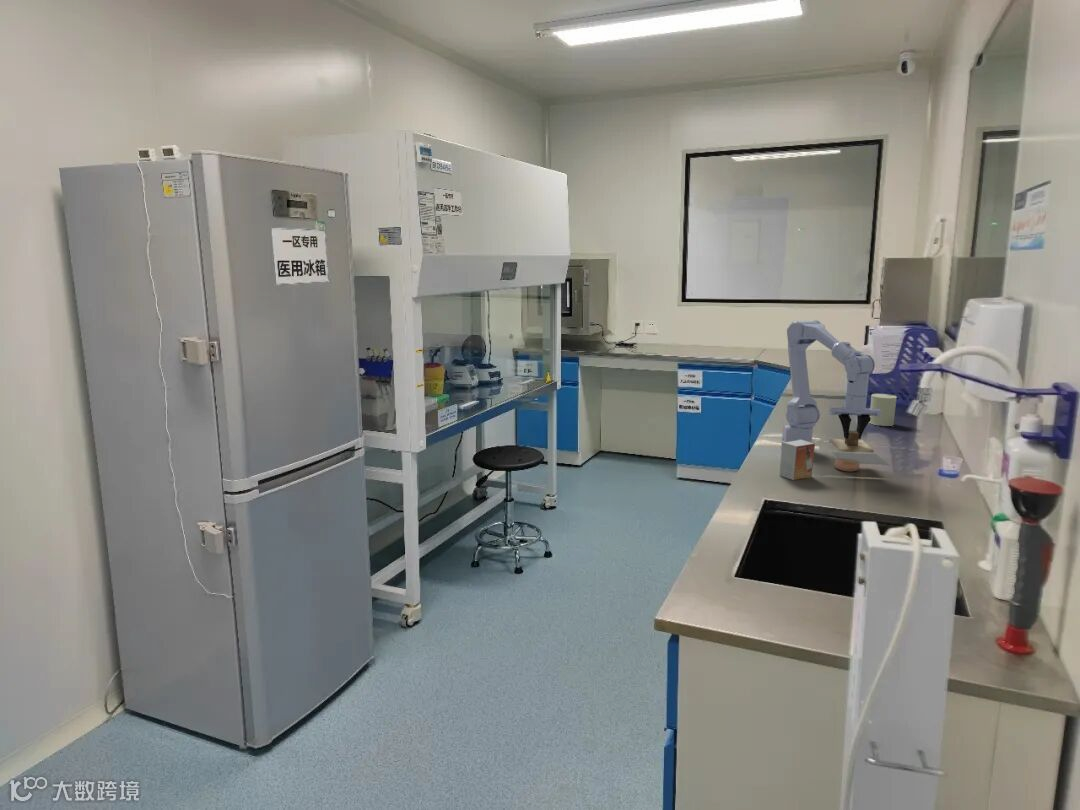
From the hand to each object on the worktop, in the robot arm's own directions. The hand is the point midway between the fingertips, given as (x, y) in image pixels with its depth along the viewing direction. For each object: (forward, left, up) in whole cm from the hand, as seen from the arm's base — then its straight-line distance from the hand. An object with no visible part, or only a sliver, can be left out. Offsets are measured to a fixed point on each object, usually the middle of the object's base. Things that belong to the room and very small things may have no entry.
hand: (852, 438), depth 213 cm
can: (+32, +65, -10) cm, 73 cm away
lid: (0, 0, -3) cm, 3 cm away
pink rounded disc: (-1, -2, -10) cm, 10 cm away
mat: (+7, +11, -10) cm, 16 cm away
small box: (-18, -10, -10) cm, 23 cm away
